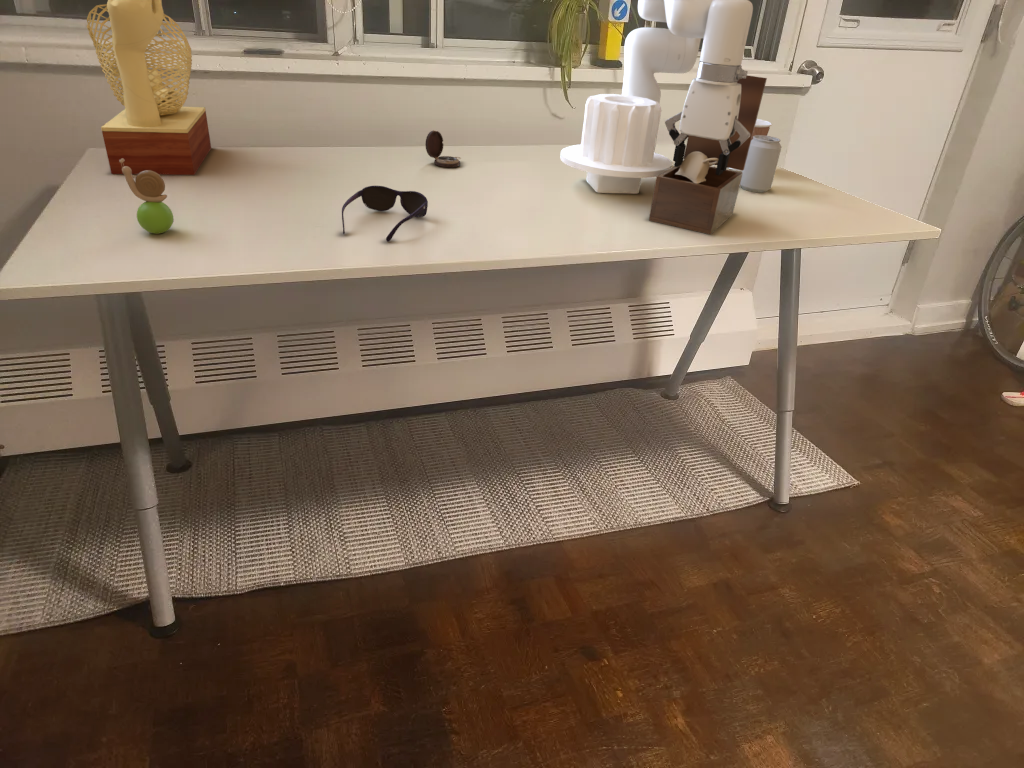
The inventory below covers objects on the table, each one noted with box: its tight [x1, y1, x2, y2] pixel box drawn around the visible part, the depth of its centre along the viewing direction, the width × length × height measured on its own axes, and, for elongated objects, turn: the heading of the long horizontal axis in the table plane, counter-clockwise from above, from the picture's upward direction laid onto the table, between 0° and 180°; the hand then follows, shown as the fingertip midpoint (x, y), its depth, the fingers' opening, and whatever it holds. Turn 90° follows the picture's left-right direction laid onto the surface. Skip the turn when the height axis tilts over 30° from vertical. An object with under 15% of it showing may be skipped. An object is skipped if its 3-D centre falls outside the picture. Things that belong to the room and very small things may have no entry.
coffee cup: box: [728, 118, 773, 172], centre depth 184 cm, size 10×10×12 cm
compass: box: [424, 129, 462, 168], centre depth 168 cm, size 8×8×7 cm
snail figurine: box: [119, 158, 174, 235], centre depth 116 cm, size 5×6×12 cm
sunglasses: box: [341, 185, 429, 242], centre depth 128 cm, size 14×16×5 cm
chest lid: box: [683, 74, 768, 170], centre depth 146 cm, size 18×13×6 cm
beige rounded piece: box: [675, 151, 718, 184], centre depth 140 cm, size 4×8×5 cm, turn 27°
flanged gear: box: [559, 93, 673, 195], centre depth 158 cm, size 25×25×19 cm
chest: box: [648, 165, 743, 235], centre depth 145 cm, size 17×13×9 cm
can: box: [740, 135, 782, 193], centre depth 167 cm, size 8×8×12 cm
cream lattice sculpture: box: [86, 0, 212, 176], centre depth 146 cm, size 25×18×35 cm
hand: (698, 169), depth 140 cm, fingers closed on beige rounded piece, 7 cm apart
